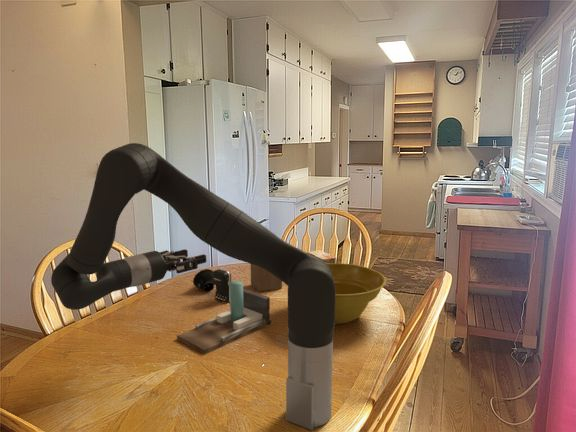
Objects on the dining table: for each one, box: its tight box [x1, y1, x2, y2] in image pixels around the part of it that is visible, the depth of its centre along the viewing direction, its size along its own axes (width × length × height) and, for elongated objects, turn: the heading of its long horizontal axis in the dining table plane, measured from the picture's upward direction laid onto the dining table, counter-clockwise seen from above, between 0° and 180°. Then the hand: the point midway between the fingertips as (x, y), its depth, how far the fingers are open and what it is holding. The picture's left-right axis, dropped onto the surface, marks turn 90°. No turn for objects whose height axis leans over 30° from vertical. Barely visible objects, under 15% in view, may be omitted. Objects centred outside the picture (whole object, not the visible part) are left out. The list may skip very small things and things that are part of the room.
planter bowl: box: [326, 262, 387, 325], centre depth 141 cm, size 32×32×13 cm
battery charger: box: [212, 268, 232, 304], centre depth 154 cm, size 7×4×11 cm, turn 49°
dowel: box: [229, 280, 244, 325], centre depth 132 cm, size 4×4×13 cm
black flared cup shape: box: [192, 268, 216, 293], centre depth 169 cm, size 9×11×18 cm
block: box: [250, 264, 283, 293], centre depth 168 cm, size 10×10×20 cm
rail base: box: [176, 288, 273, 355], centre depth 129 cm, size 26×13×9 cm, turn 138°
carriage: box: [216, 307, 262, 330], centre depth 134 cm, size 10×10×2 cm
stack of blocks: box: [305, 249, 337, 263], centre depth 177 cm, size 21×6×12 cm, turn 28°
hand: (195, 255), depth 118 cm, fingers open, 8 cm apart
